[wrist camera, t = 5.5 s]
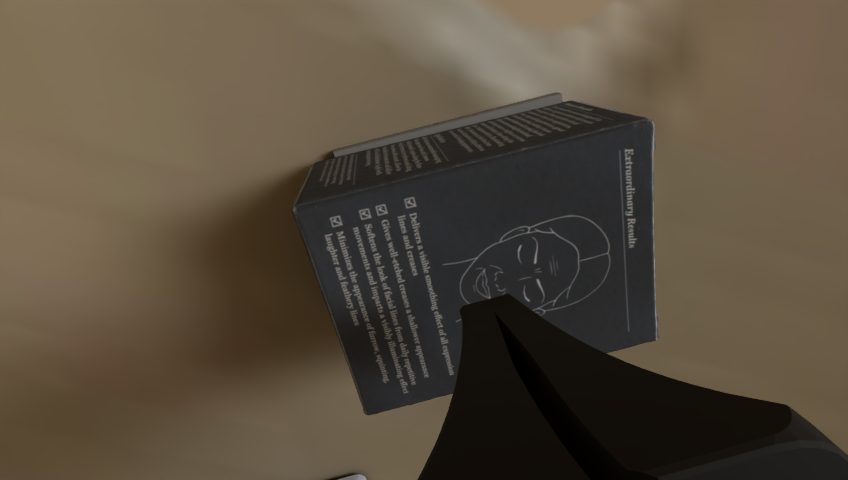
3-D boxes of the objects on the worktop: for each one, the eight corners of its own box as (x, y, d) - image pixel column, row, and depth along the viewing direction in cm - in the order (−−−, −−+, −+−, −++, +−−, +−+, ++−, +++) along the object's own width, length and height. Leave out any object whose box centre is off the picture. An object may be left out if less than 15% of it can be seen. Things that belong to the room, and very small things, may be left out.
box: (362, 327, 21) (591, 272, 21) (360, 421, 16) (664, 347, 16) (309, 158, 18) (578, 95, 18) (284, 205, 13) (663, 115, 13)
